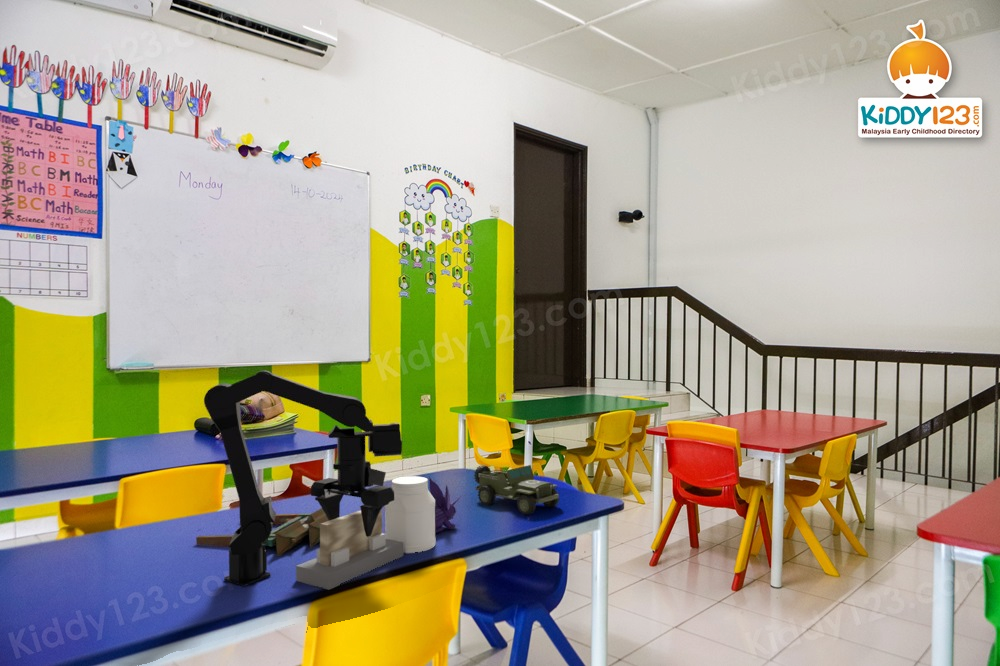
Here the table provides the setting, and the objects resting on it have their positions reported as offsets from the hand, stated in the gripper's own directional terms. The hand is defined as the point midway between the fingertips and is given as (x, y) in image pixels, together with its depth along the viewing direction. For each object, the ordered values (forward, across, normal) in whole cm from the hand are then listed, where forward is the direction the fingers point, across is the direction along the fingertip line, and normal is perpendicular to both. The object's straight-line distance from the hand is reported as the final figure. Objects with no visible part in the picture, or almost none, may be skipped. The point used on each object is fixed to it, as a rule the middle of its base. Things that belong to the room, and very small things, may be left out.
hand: (352, 532), depth 138 cm
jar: (+8, -1, -18) cm, 19 cm away
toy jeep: (+8, -4, -61) cm, 61 cm away
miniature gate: (+8, +32, -7) cm, 33 cm away
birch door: (+4, 0, 0) cm, 4 cm away
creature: (+8, +1, -30) cm, 31 cm away
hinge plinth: (+7, 0, 0) cm, 7 cm away
